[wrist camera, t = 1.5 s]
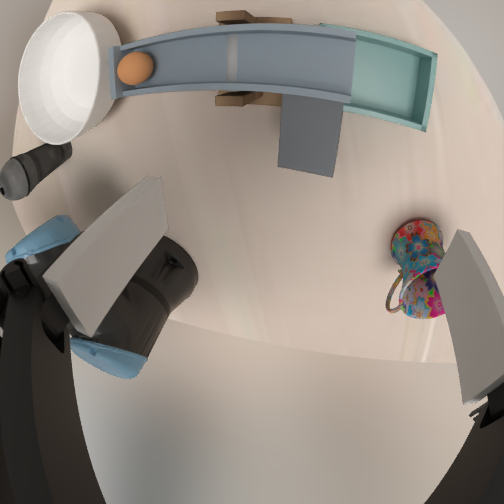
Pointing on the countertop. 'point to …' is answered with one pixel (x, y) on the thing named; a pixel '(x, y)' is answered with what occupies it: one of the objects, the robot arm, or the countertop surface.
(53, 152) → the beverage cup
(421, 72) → the tray
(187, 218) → the countertop surface
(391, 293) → the mug
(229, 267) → the countertop surface
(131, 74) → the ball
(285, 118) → the blue-grey ramp
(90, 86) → the bowl
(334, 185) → the countertop surface
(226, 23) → the fulcrum
